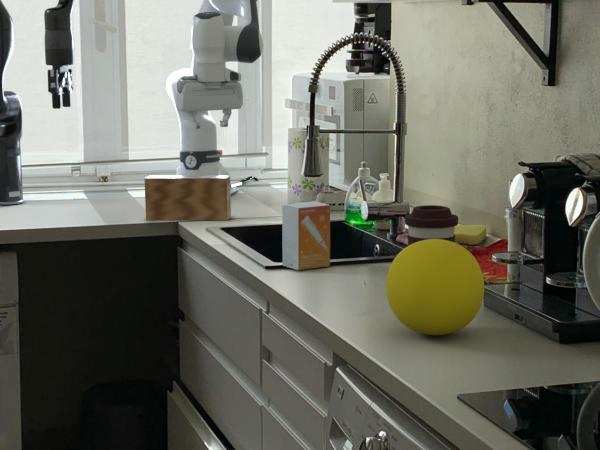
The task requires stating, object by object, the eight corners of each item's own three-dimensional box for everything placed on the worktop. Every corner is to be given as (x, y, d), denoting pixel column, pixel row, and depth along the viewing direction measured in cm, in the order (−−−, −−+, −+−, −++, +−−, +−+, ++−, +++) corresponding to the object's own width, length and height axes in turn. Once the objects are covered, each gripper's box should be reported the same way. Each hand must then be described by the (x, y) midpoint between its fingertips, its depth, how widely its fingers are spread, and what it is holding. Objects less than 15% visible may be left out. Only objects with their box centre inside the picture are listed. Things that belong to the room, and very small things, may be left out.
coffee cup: (400, 280, 202) (400, 204, 200) (450, 279, 203) (451, 203, 201) (409, 292, 193) (410, 212, 190) (462, 291, 193) (463, 211, 191)
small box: (298, 271, 212) (298, 207, 210) (281, 266, 217) (281, 204, 215) (331, 266, 217) (330, 204, 214) (314, 261, 222) (313, 200, 220)
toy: (452, 317, 175) (453, 228, 172) (500, 340, 161) (502, 244, 158) (370, 326, 170) (371, 235, 167) (413, 350, 156) (414, 252, 153)
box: (145, 220, 279) (144, 178, 277) (151, 216, 285) (149, 175, 283) (227, 220, 277) (226, 178, 275) (231, 216, 283) (230, 175, 281)
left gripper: (64, 47, 275) (67, 109, 277) (80, 47, 289) (83, 106, 291) (36, 47, 275) (39, 109, 278) (54, 47, 289) (57, 106, 292)
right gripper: (184, 76, 265) (186, 130, 267) (246, 74, 279) (246, 126, 281) (169, 75, 269) (171, 129, 272) (230, 74, 283) (231, 125, 285)
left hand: (62, 107), depth 285 cm, fingers open, 8 cm apart
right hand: (210, 127), depth 276 cm, fingers open, 8 cm apart
